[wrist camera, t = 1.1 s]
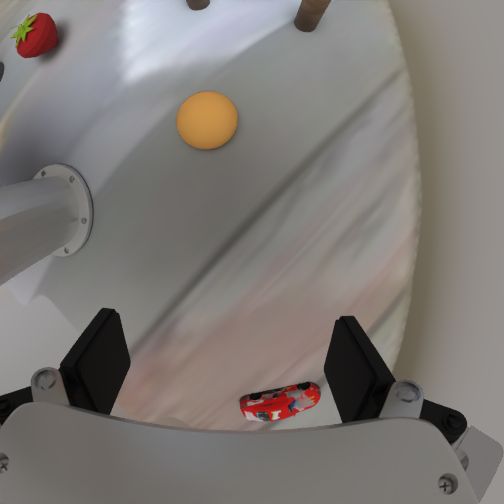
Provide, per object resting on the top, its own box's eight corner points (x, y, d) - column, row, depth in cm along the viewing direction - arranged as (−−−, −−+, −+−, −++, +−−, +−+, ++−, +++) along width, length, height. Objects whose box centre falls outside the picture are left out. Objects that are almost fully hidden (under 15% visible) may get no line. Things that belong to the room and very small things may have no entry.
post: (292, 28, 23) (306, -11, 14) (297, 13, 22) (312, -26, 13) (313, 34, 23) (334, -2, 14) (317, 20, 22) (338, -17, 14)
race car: (317, 376, 39) (323, 394, 35) (320, 396, 41) (325, 413, 37) (237, 392, 40) (236, 411, 36) (245, 411, 41) (245, 428, 37)
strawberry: (40, 72, 22) (-4, 61, 13) (42, 36, 20) (4, 20, 10) (70, 53, 22) (27, 33, 12) (71, 17, 19) (34, -6, 10)
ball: (177, 144, 27) (161, 140, 22) (192, 94, 25) (179, 79, 20) (230, 156, 28) (225, 154, 22) (245, 105, 26) (244, 91, 20)
